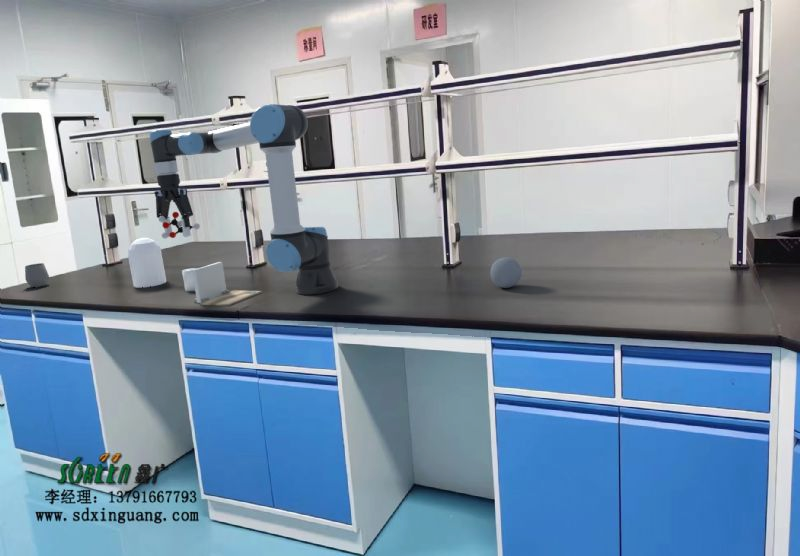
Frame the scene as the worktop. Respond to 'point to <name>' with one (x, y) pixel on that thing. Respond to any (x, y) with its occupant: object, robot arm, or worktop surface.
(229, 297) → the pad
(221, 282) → the occluder screen
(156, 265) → the container
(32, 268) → the cup
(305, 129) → the robot arm
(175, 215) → the molecular model
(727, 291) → the worktop surface
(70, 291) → the worktop surface
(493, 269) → the decorative stone
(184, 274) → the white upright block
